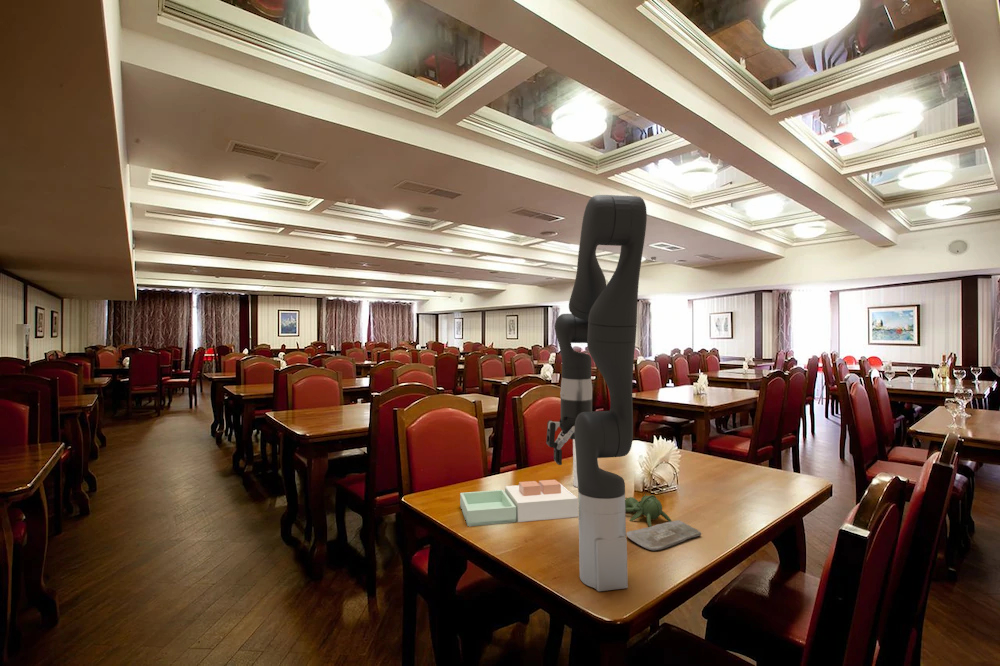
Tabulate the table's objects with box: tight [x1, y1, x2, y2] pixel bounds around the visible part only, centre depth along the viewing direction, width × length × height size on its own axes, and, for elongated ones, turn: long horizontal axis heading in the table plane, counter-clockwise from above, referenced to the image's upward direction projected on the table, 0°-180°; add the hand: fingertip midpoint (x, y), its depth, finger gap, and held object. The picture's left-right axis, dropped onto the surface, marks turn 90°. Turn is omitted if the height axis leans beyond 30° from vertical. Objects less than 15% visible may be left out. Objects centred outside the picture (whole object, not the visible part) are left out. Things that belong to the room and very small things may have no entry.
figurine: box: [625, 493, 672, 527], centre depth 129 cm, size 11×8×19 cm
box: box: [459, 489, 517, 527], centre depth 131 cm, size 16×13×4 cm
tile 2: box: [538, 479, 561, 494], centre depth 135 cm, size 5×5×2 cm
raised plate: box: [504, 483, 579, 523], centre depth 134 cm, size 16×17×5 cm
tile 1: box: [518, 480, 541, 496], centre depth 134 cm, size 5×5×2 cm
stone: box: [626, 519, 702, 552], centre depth 114 cm, size 18×3×10 cm
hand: (575, 462), depth 113 cm, fingers open, 8 cm apart
